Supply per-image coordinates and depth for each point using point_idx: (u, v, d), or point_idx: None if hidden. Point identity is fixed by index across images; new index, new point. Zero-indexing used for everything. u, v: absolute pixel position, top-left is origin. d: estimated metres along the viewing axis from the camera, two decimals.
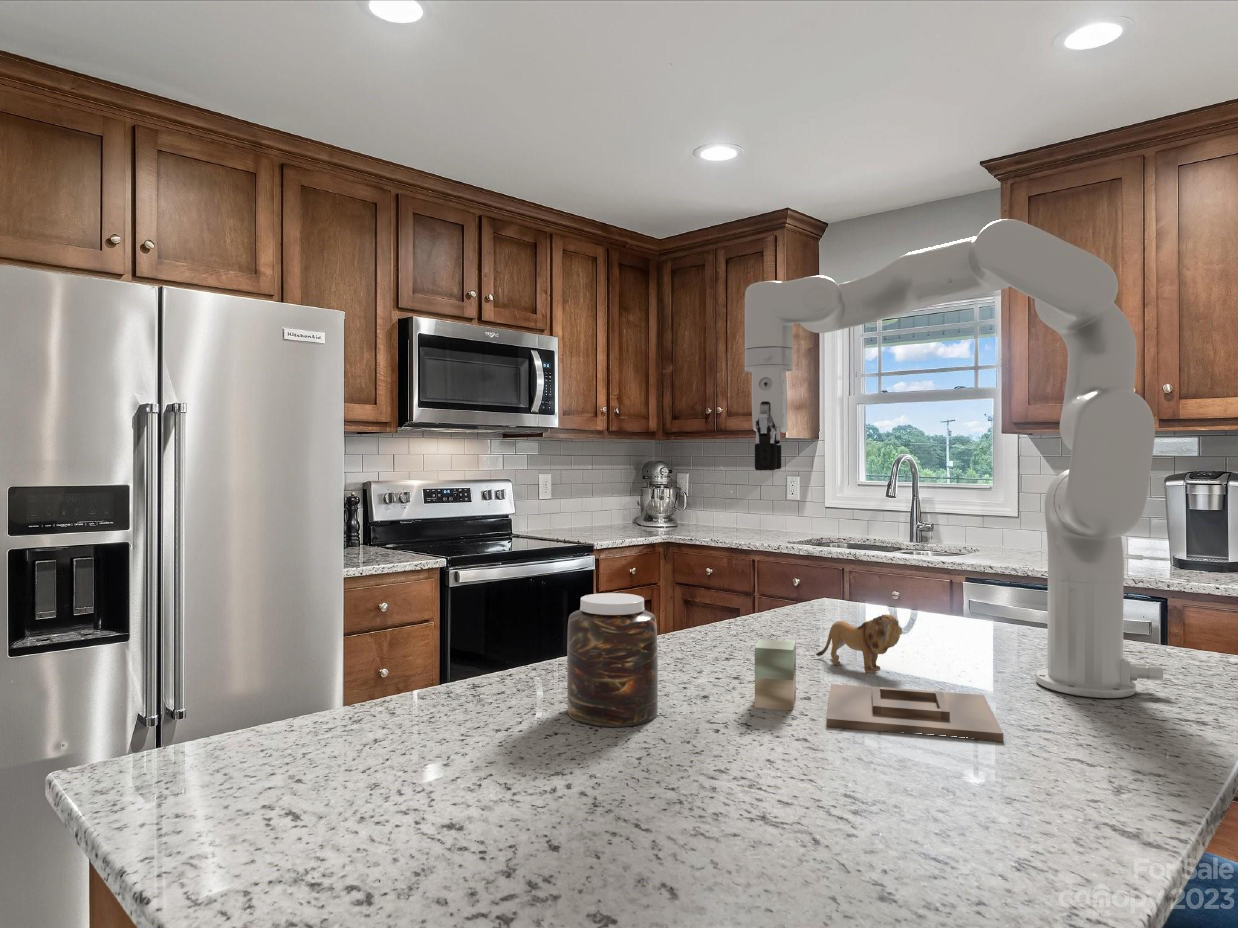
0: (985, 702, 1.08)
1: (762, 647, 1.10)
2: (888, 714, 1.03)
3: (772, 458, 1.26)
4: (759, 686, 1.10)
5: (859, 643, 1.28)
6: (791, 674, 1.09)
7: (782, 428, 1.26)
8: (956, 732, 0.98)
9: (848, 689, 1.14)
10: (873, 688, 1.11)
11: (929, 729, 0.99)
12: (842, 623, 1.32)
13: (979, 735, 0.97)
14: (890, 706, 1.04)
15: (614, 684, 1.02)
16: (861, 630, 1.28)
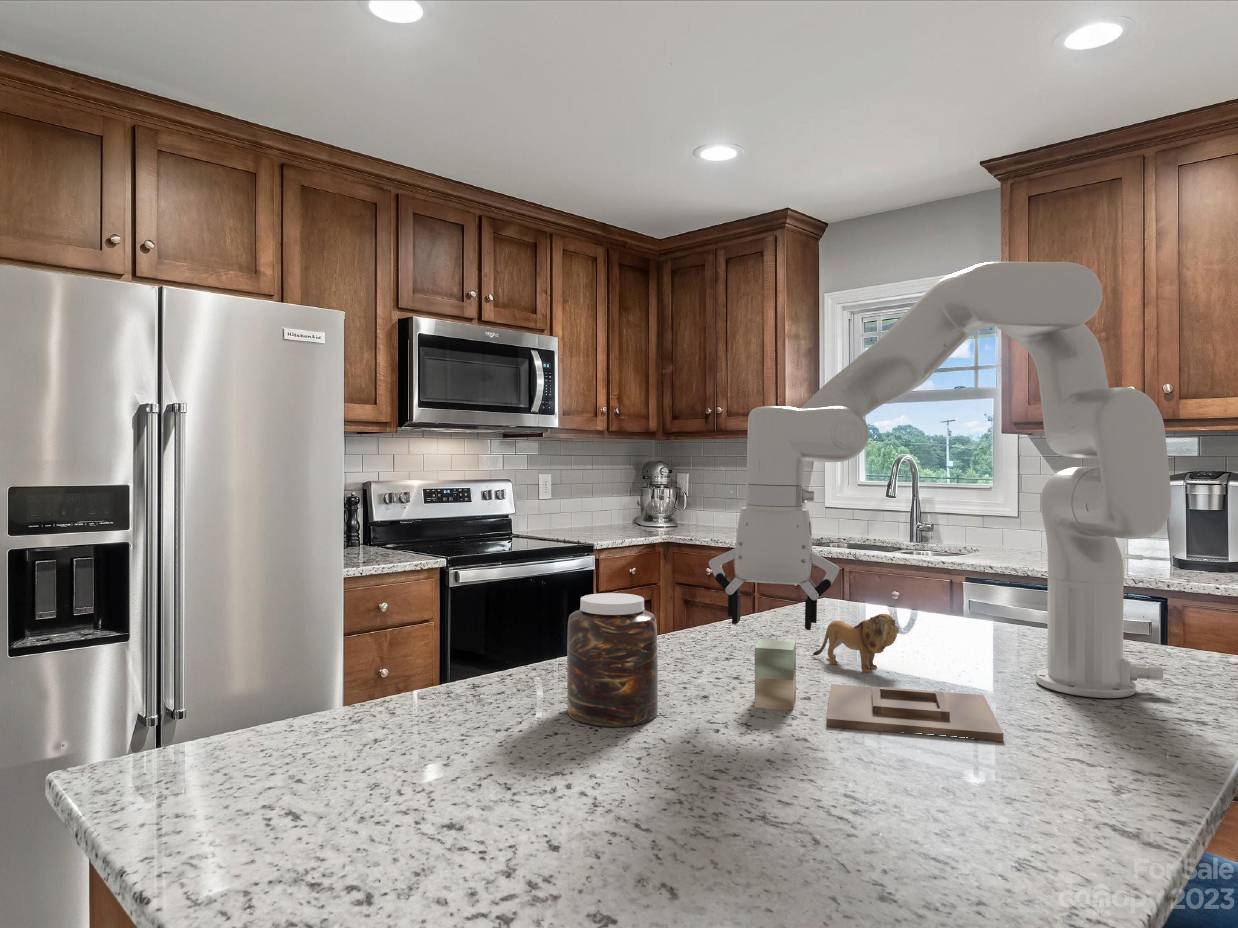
0: (985, 702, 1.08)
1: (762, 647, 1.10)
2: (888, 714, 1.03)
3: None
4: (759, 686, 1.10)
5: (856, 642, 1.29)
6: (791, 674, 1.09)
7: None
8: (956, 732, 0.98)
9: (848, 689, 1.14)
10: (873, 688, 1.11)
11: (929, 729, 0.99)
12: (839, 622, 1.33)
13: (979, 735, 0.97)
14: (890, 706, 1.04)
15: (614, 684, 1.02)
16: (858, 629, 1.29)
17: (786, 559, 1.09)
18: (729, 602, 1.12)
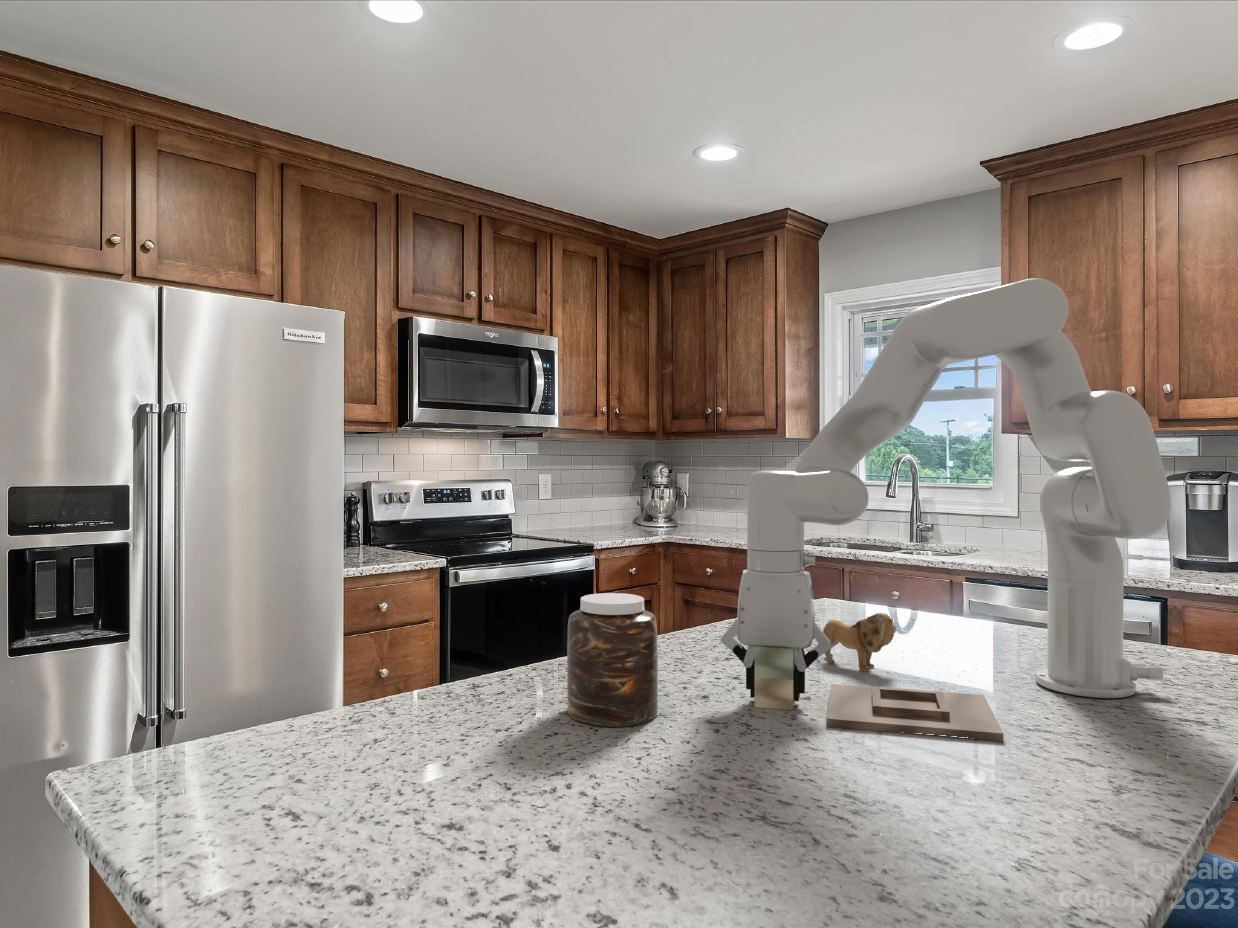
0: (985, 702, 1.08)
1: (762, 647, 1.10)
2: (888, 714, 1.03)
3: None
4: (759, 686, 1.10)
5: (854, 641, 1.29)
6: (791, 674, 1.09)
7: None
8: (956, 732, 0.98)
9: (848, 689, 1.14)
10: (873, 688, 1.11)
11: (929, 729, 0.99)
12: (836, 622, 1.33)
13: (979, 735, 0.97)
14: (890, 706, 1.04)
15: (614, 684, 1.02)
16: (856, 629, 1.29)
17: (788, 624, 1.09)
18: (747, 675, 1.12)
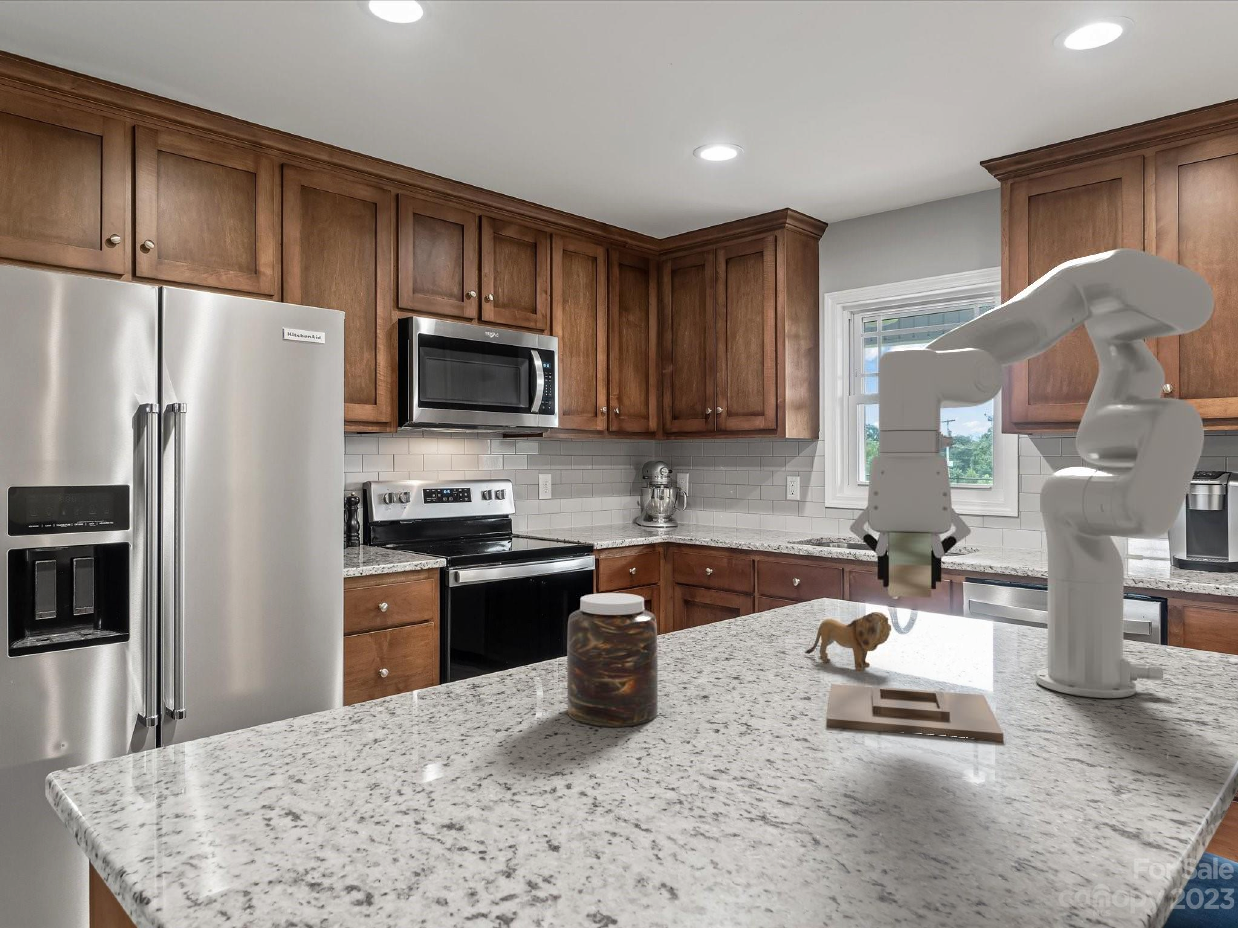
0: (985, 702, 1.08)
1: (897, 532, 1.05)
2: (888, 714, 1.03)
3: None
4: (894, 573, 1.05)
5: (850, 640, 1.30)
6: (929, 559, 1.04)
7: None
8: (956, 732, 0.98)
9: (848, 689, 1.14)
10: (873, 688, 1.11)
11: (929, 729, 0.99)
12: (831, 621, 1.34)
13: (979, 735, 0.97)
14: (890, 706, 1.04)
15: (614, 684, 1.02)
16: (851, 628, 1.30)
17: (926, 508, 1.04)
18: (879, 564, 1.07)
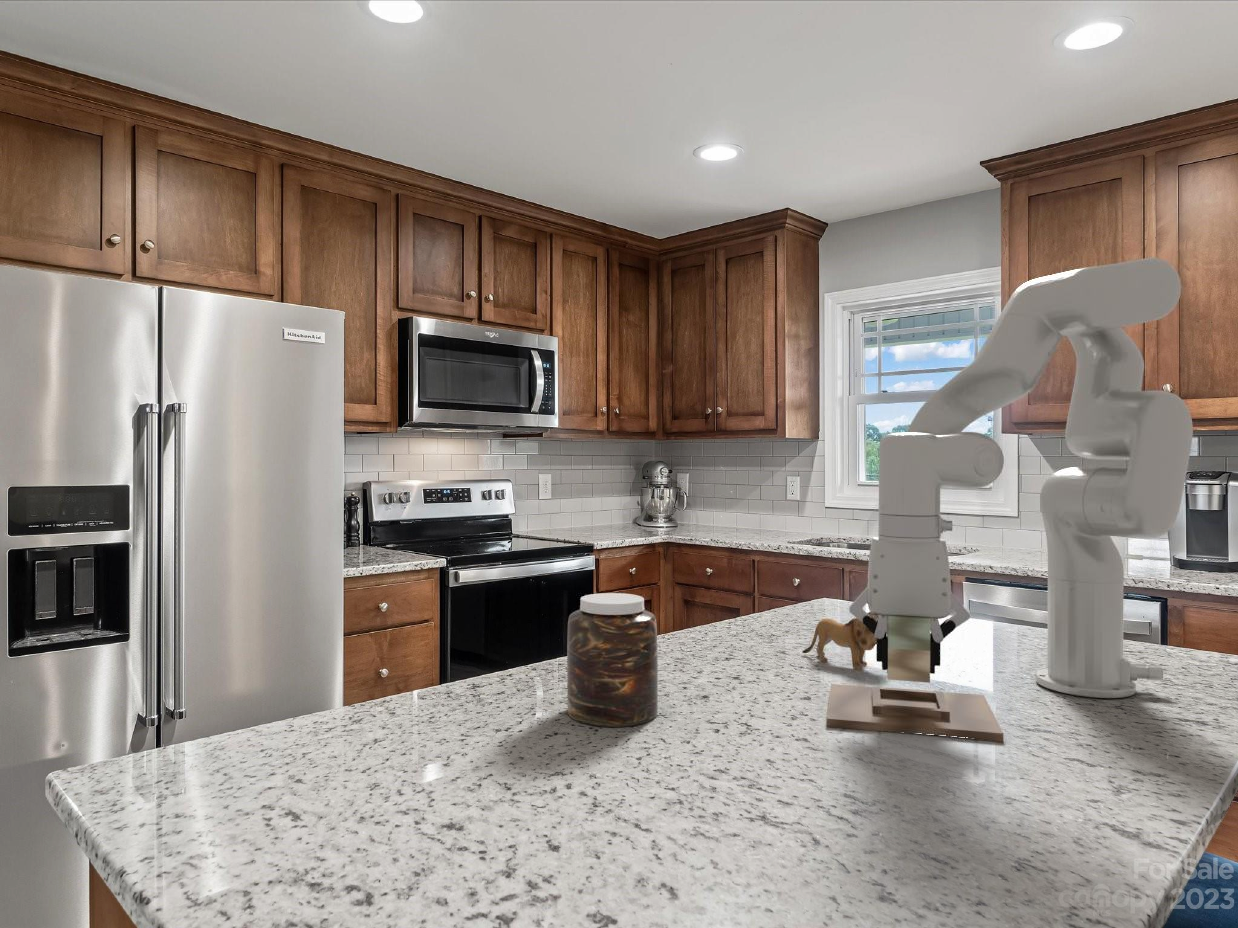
0: (985, 702, 1.08)
1: (896, 616, 1.05)
2: (888, 714, 1.03)
3: None
4: (893, 657, 1.05)
5: (847, 639, 1.30)
6: (928, 644, 1.04)
7: None
8: (956, 732, 0.98)
9: (848, 689, 1.14)
10: (873, 688, 1.11)
11: (929, 729, 0.99)
12: (829, 620, 1.34)
13: (979, 735, 0.97)
14: (890, 706, 1.04)
15: (614, 684, 1.02)
16: (849, 627, 1.31)
17: (925, 592, 1.04)
18: (878, 646, 1.07)
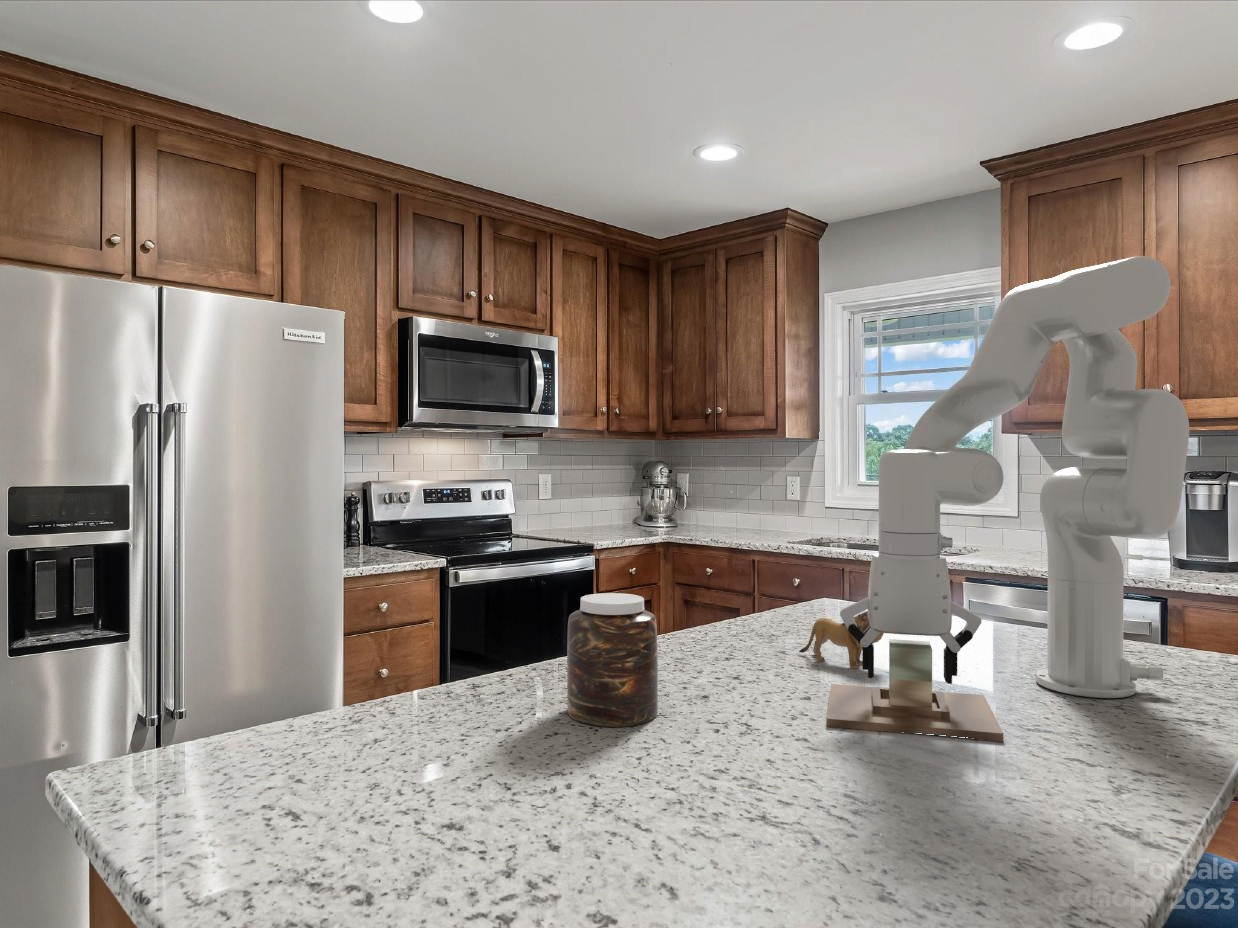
0: (985, 702, 1.08)
1: (898, 647, 1.05)
2: (888, 714, 1.03)
3: None
4: (895, 688, 1.05)
5: (844, 639, 1.31)
6: (930, 675, 1.04)
7: None
8: (956, 732, 0.98)
9: (848, 689, 1.14)
10: (873, 688, 1.11)
11: (929, 729, 0.99)
12: (826, 620, 1.35)
13: (979, 735, 0.97)
14: (890, 706, 1.04)
15: (614, 684, 1.02)
16: (846, 627, 1.31)
17: (926, 610, 1.04)
18: (864, 655, 1.08)
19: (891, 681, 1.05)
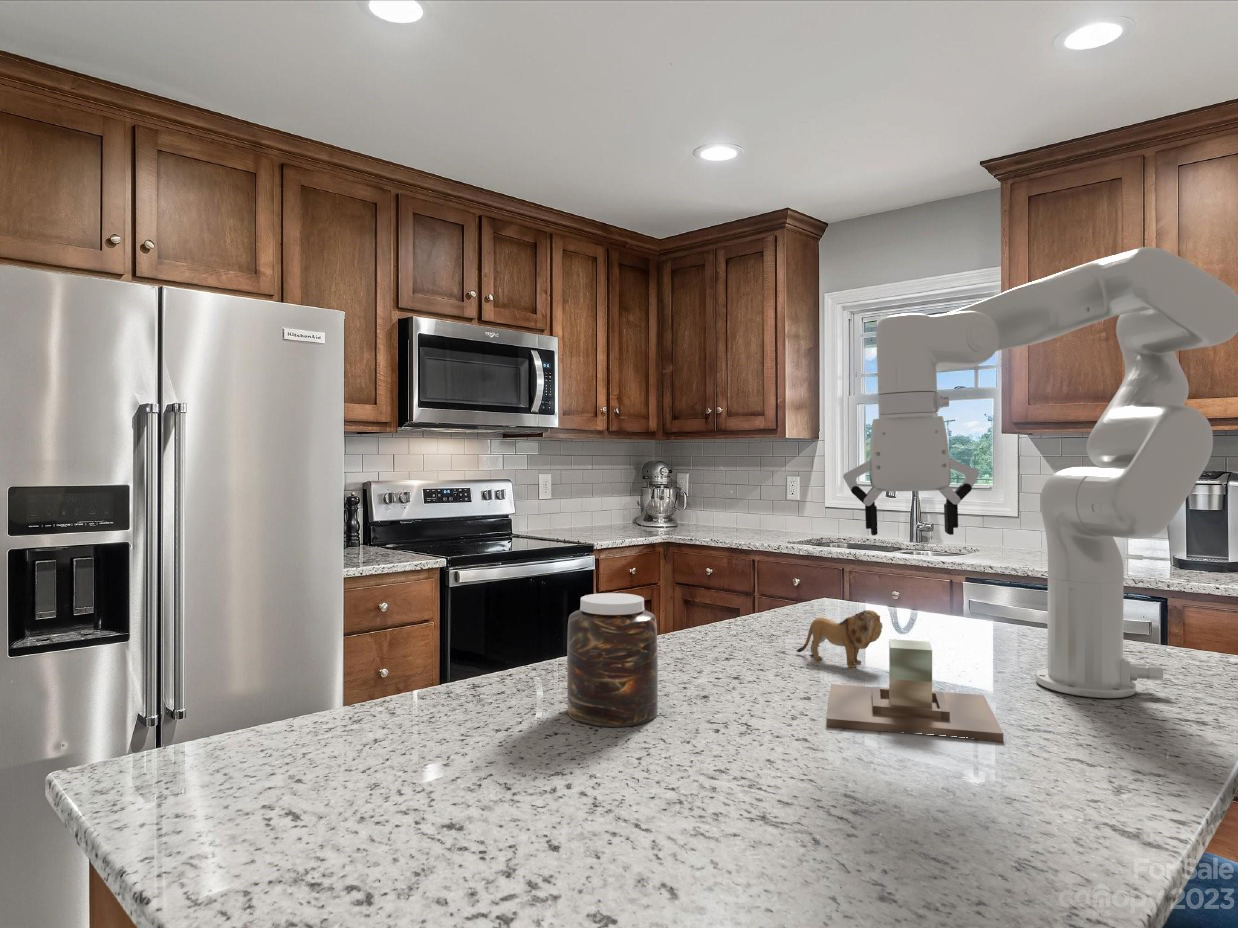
0: (985, 702, 1.08)
1: (898, 647, 1.05)
2: (888, 714, 1.03)
3: None
4: (895, 688, 1.05)
5: (842, 638, 1.31)
6: (930, 675, 1.04)
7: None
8: (956, 732, 0.98)
9: (848, 689, 1.14)
10: (873, 688, 1.11)
11: (929, 729, 0.99)
12: (823, 619, 1.35)
13: (979, 735, 0.97)
14: (890, 706, 1.04)
15: (614, 684, 1.02)
16: (844, 626, 1.32)
17: (926, 465, 1.09)
18: (867, 514, 1.12)
19: (891, 681, 1.05)
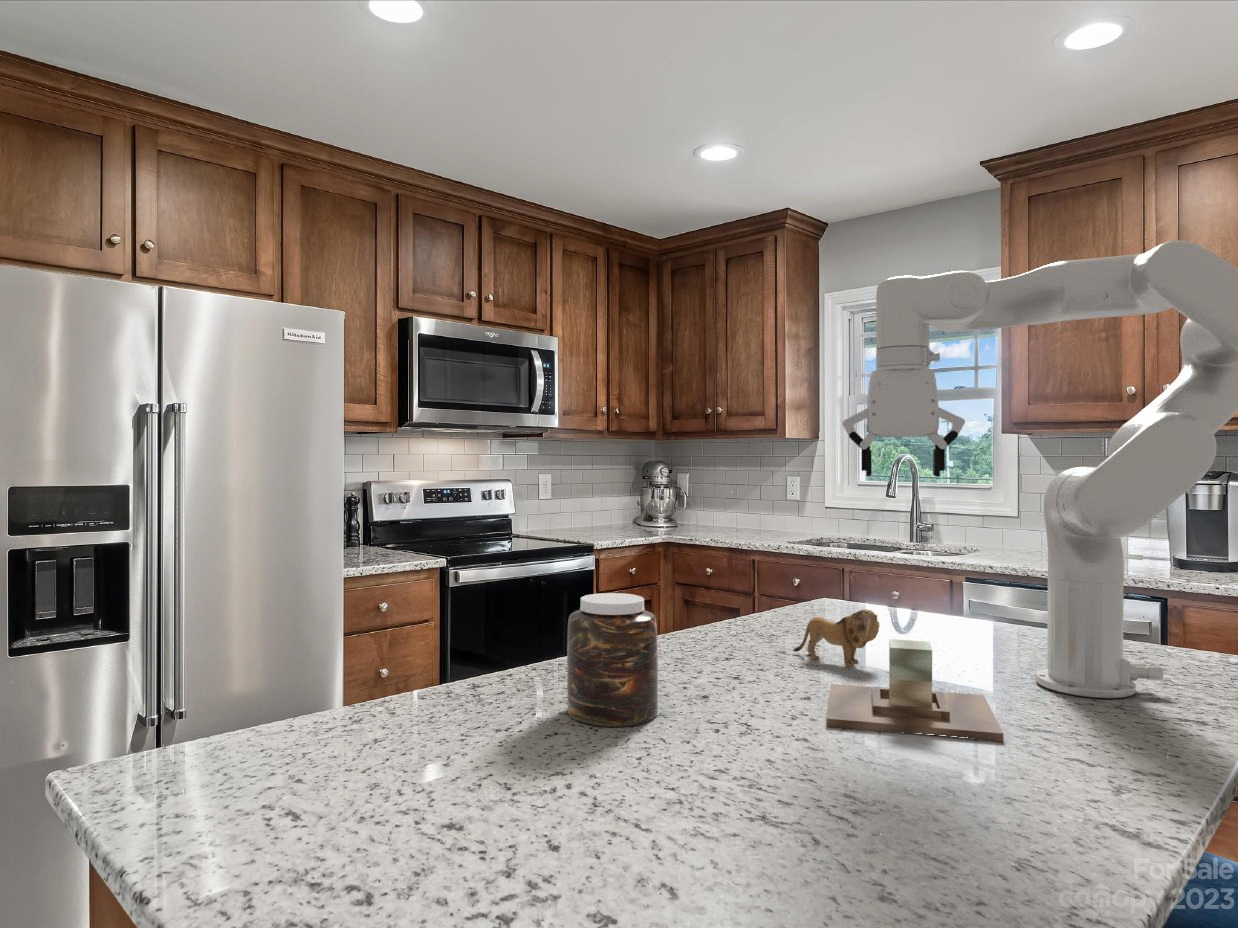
0: (985, 702, 1.08)
1: (898, 647, 1.05)
2: (888, 714, 1.03)
3: None
4: (895, 688, 1.05)
5: (839, 637, 1.32)
6: (930, 675, 1.04)
7: None
8: (956, 732, 0.98)
9: (848, 689, 1.14)
10: (873, 688, 1.11)
11: (929, 729, 0.99)
12: (820, 619, 1.36)
13: (979, 735, 0.97)
14: (890, 706, 1.04)
15: (614, 684, 1.02)
16: (841, 625, 1.32)
17: (917, 413, 1.21)
18: (863, 457, 1.25)
19: (891, 681, 1.05)
